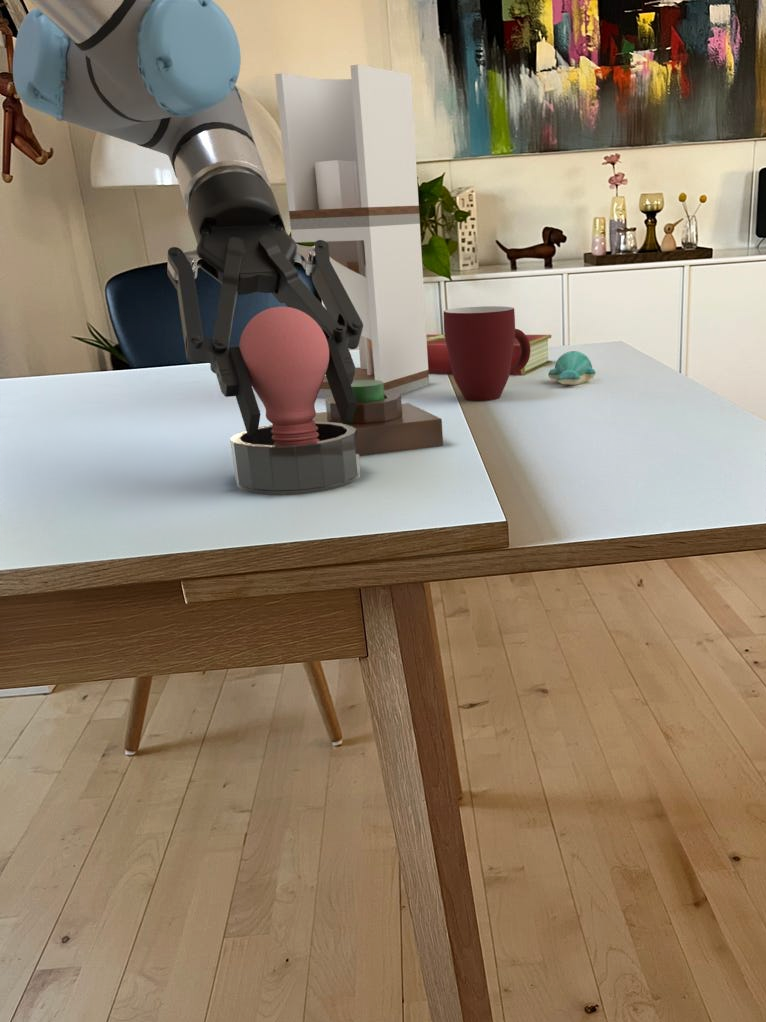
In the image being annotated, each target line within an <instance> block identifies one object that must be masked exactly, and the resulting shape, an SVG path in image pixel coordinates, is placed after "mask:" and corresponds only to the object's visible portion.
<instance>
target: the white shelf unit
mask: <svg viewBox="0 0 766 1022" xmlns="http://www.w3.org/2000/svg"><path fill="white" fill-rule="evenodd" d="M274 79H275V87H276V98H277V106H278V108H277V109H278V117H279V127H280V135H281V136H280V138H281V145H282V146H281V147H282V157H283V165H284V175H285V186H286V195H287V205H288V206H287V207H288V213H289V224H290V225H289V226H290V234H291V235H290V236H291V238H292V239H293V240H294V241H295V242H296V243H315V242H316V241H318V240H323V241H325V242H327V244H328V246H329V256H330V262H331V264H332V266H333V268H334V270H335V272H336V273H337V275H338V277H339V279H340V281H341V283H342V285H343V287H344V289H345V290H346V292H347V294H348V296H349V298H350V300H351V302H352V304H353V306H354V307H355V309H356V311H357V313H358V315H359V317H360V319H361V321H362V323H363V329H362V333H361V337H360V341H359V345H358V352H359V353H358V354H359V363H360V367H355V375H354V378H353V381H358V380H379V381H383V383H384V392H390V393H396V394H398V395H403V394H407V393H409V392H412V391H415V390H418V389H420V388H421V389H422V388H424V387H427V386H430V374H429V373H428V356H427V338H426V334H427V323H426V322H427V321H426V305H425V289H424V272H423V270H424V269H423V256H422V255H423V254H422V253H423V252H422V238H421V237H422V235H421V221H420V220H421V219H420V204H419V185H418V171H417V170H418V167H417V154H416V152H417V150H416V135H415V133H416V132H415V119H414V99H413V83H412V81H413V80H412V73H407V72H401V71H395V70H390V69H385V68H379V67H373V66H367V65H362V64H352V65H351V64H350V78H343V79H342V78H341V79H339V78H338V79H335V78H333V79H332V78H331V79H330V78H317V77H316V78H315V77H308V76H301V75H294V74H288V73H275V74H274ZM330 397H333V395H332V392H331V389H330V386H329V383H328V380H327V378H326V375H325V377H324V380H323V383H322V386H321V388H320V391H319V393H318V395H317V398H316V399H318V398H319V399H320V398H321V399H328V398H330Z"/></svg>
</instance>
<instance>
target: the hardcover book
mask: <svg viewBox="0 0 766 1022" xmlns="http://www.w3.org/2000/svg"><path fill="white" fill-rule="evenodd" d="M525 335H526V336H527V338H528V340H529V343H530V358H529V361H528V363H527V364H526V366H525V367H524V368H523V369H521V370H520V371H518V372H516V373H513V374H510V375H509V376H526V375H528V374H531V373H533V372H535V371H537V370H539V369H541V368H544V367H546V366H547V365H550V364H552V362H553V361H552V360H549V339H552V334H525ZM426 338H427V356H428V373H429V375H453V373H452V369H451V364H450V359H449V355H448V350H447V345H446V341H445V335H444V333H443V334H441V333H439V334H437V333H436V334H431V333H430V334H429V333H426ZM520 354H521V347H520V344H519V341H518V340H517V339H516V338H514V346H513V353H512V360H511V367H513V366H514V365H516V364H517V362H518V361H519V358H520Z"/></svg>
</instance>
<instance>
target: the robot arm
mask: <svg viewBox="0 0 766 1022" xmlns="http://www.w3.org/2000/svg"><path fill="white" fill-rule="evenodd" d="M28 1H29V2H30V3H31V4H32V5H33V6H34V7H35V8H33V9H31V10H30V11H29V12H28V13H27V14H26V15H25V17H24V18H23V19H22V22H21V24H20V25H19V29H18V31H17V35H16V38H15V43H14V49H13V57H12V58H13V59H12V77H13V78H12V79H13V84H14V88H15V91H16V94H17V96H18V97H19V99H20V101H22V103H23V104H24V105H25V106H27V107H29V108H31V109H33V110H36V111H39V112H40V113H43V114H46V115H48V116H50V117H52V118H54V119H56V120H57V121H58V122H61V123H63V121H64V122H67V123H70V124H73V125H75V126H76V125H77V126H79V127H82V128H85V129H89V130H92V131H95V132H97V133H101V134H104V135H107V136H110V137H114V138H116V139H119V140H122V141H126V142H129V143H130V144H134V145H137V146H139V147H142V148H145V149H149V150H152V151H155V152H158V153H159V154H164V155H165V156H168V158H169V161H170V164H171V166H172V169H173V172H174V176H175V177H176V179H177V182H178V185H179V189H180V192H181V197H182V198H183V202H184V206H185V208H186V211H187V216H188V219H189V222H190V226H191V229H192V232H193V236H194V238H195V241H196V244H197V245H196V248H195V249H193V250H189V251H186V252H184V251H183V249H181V248H179V247H176V246H172V247H169V248H168V249H167V266H166V267H167V271H166V272H167V277H168V278H169V280H170V282H171V283H172V285H173V287H174V288H175V290H176V292H177V299H178V300H177V301H178V307H179V315H180V322H181V328H182V329H181V330H182V335H183V342H184V344H183V345H184V349H185V358H186V360H187V362H188V363H190V364H194V365H196V364H200V363H201V362H205V363H208V364H210V371H211V372H212V373H213V374H215V375H216V378H217V382H218V385H219V388H220V392H221V393H222V394H223V396H224V397H225V398H229V397H235V399H236V402H237V405H238V409H239V411H240V415H241V418H242V421H243V424H244V425H243V426H244V428H245V431H247V434H248V436H251V435H257V434H258V427H260V421H261V410H260V407H259V404H258V401H257V398H256V395H255V391H254V389H253V387H252V386H251V382H250V379H249V376H248V373H247V370H246V367H245V364H244V361H243V357H242V354H241V351H240V348H239V346H230V341H231V335H232V328H233V321H234V316H235V310H236V304H237V297H238V296H247V295H250V294H251V295H252V294H255V293H262V294H272V296H273V297H274V298H275V299H276V300H277V301H278V303H280V304H284V305H285V307H291V308H294V309H298V310H300V311H302V312H304V313H306V314H307V315H309V316H310V317H311V318H312V319H314V320H315V321H316V322H317V324H318V325H319V326H320V327H321V329H322V331H323V332H324V334H325V337H326V339H327V342H328V347H329V363H328V368H327V371H326V374H325V376H326V378H327V380H328V383H329V386H330V389H331V392H332V395H333V398H334V400H335V403H336V406H337V409H338V412H339V415H340V418H341V420H342V423H343V424H349V423H352V420H353V416H354V413H355V409H356V406H357V401H356V398H355V395H354V392H353V389H352V387H351V384H352V382H353V378H354V375H355V368H356V365H355V362H354V360H353V357H352V354H351V351H350V350H356V349H358V348H359V341H360V337H361V333H362V329H363V323H362V321H361V319H360V317H359V315H358V313H357V311H356V309H355V307H354V306H353V304H352V302H351V300H350V298H349V296H348V294H347V292H346V290H345V289H344V287H343V285H342V283H341V281H340V279H339V277H338V275H337V273H336V272H335V270H334V268H333V266H332V264H331V262H330V256H329V246H328V244H327V242H325V241H323V240H318V241H316V242H314V246H307V245H300V244H297V242H295V241H294V240H293V239H292V236H291V235H289V233H288V232H287V230H286V226H285V224H284V219H283V217H282V214H281V212H280V208H279V206H278V204H277V200H276V197H275V195H274V192H273V190H272V188H271V187H272V186H271V183H270V180H269V177H268V175H267V171H266V169H265V165H264V164H263V161H262V158H261V155H260V153H259V150H258V148H257V146H256V142H255V140H254V139H255V138H254V136H253V134H252V130H251V128H250V127H251V126H250V124H249V121H248V119H247V116H246V115H247V114H246V112H245V109H244V106H243V101H242V97H241V93H240V92H239V89H238V87H237V85H236V84H237V82H238V79H239V76H240V72H241V65H242V64H241V58H242V56H241V55H242V54H241V48H240V43H239V37H238V35H237V33H236V30H235V28H234V26H233V24H232V22H231V20H230V17H228V15H227V14H226V12H225V11H224V10H223V9H222V7H220V5H219V4H217V3H216V2H215V1H214V0H28ZM295 263H299V264H300V265H301V266H302V268H303V269H304V270H305V274H306V276H311V280H312V283H313V287H314V288H315V290H316V292H317V294H318V296H319V298H320V299H321V301H322V302H321V301H320V300H319V299H318V298H317V297H316V296H315V294H314V293H313V292H312V291H311V289H310V288H309V287H308V286H307V285H306V284H305V283H304V281H303V280H302V278H301V277H300V276H299V273H298V270H297V268H296V267H295V266H294V264H295ZM199 268H200V269H201V270H203V271H204V272H205V273H207V275H209V276H211V277H212V278H213V279H215V280H216V281H217V282H219V284H221V287H220V292H219V299H218V305H217V311H216V317H215V323H214V329H213V335H212V338H209V337H204V333H203V327H202V320H201V319H202V318H201V314H200V313H201V312H200V305H199V300H198V294H197V287H196V285H197V284H196V279H197V277H198V269H199Z"/></svg>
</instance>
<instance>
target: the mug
mask: <svg viewBox="0 0 766 1022" xmlns="http://www.w3.org/2000/svg"><path fill="white" fill-rule="evenodd" d="M515 313H516V312H515V308H514V307H511V306H501V305H500V306H499V305H498V306H497V305H495V306H494V305H493V306H492V305H491V306H489V305H488V306H485V305H484V306H468V307H456V308H450V309H449V308H448V309H445V310H443V334H444V335H445V341H446V345H447V350H448V355H449V359H450V364H451V369H452V373H453V374H452V377H453V379H454V381H455V384H456V386H457V387H458V389H459V391H460V393H461V396H463V398H464V400H466V401H470V402H488V401H496V400H499V399H500V398H501V396H502V394H503V392H504V390H505V387H506V385H507V383H508V380H509V377H510V376H511V375H510V374H513V373H516V372H518V371H520V370H521V369H523V368H524V367H525V366H526V364H527V363H528V361H529V358H530V343H529V340H528V338H527V336H526V335H527V334H525V333H524V332H523V330H520V329H518V328H516V318H515V317H516V314H515ZM514 338H516V339H517V340H518V341H519V344H520V347H521V354H520V358H519V361H518V362H517V364H516V365H514V366H513V367H511V360H512V353H513V346H514Z"/></svg>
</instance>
